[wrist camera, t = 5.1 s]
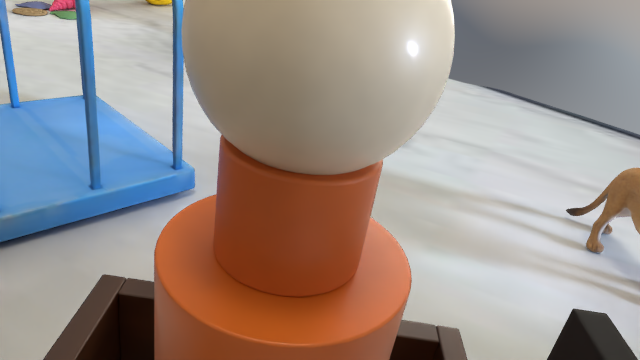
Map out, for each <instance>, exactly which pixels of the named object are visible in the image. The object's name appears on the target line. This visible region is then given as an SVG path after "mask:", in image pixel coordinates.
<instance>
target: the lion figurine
mask: <svg viewBox="0 0 640 360" xmlns="http://www.w3.org/2000/svg"><path fill="white" fill-rule="evenodd" d="M606 198H607V201H606V204H605V207H604V210H603V212H602V214H601V215H600V217H599V218H598V220H597V221H596V222H595V223H594V224H593V228H592V231H591V234H590V237H589V239H588V240H587V243H586V246H587V248H588V249H589V250H590V251H592V252H599V253H601V252H602V251H603V250H604V246H603V245H602V244H601V242H600V237H601V234H602V233H604V234H610V233H611V232H612V227H611V226H610V225H609V222H611V221H612V220H613V219H614V218H617V217H629V216H632V220H633V223H634V225H635V228H636V230H637V231H638V233H639V234H640V168H631V169H628V170H625V171H623V172H622V173H620V174H619V175H618V176H617V177H616V178H615V179H614V180H613V181H612V182H611V183H610V184H609V185H608V187H607V188H606V189H605V190H604V191H603V192H602V194H601V195H600V196H599V197H598V198H597V199H596V200H595V201H594V202H593V203H591V204H590V205H588V206H586V207H583V208H572V209H567V210H566V211H567V212H568V213H569V214H570V215H572V216H580V215H584V214H586V213H588V212H590V211H592V210H593V209H595V208H596V207H598V206H599V205H600V204H601V203H602V202H604V201H605V199H606Z"/></svg>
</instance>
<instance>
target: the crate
mask: <svg viewBox="0 0 640 360" xmlns="http://www.w3.org/2000/svg"><path fill="white" fill-rule="evenodd" d="M43 360H154V282H151V281H145V280H138V279H131V278H127V280H126V278H125V277H118V276H111V275H102V277H101V278H100V280H99V281H98V283H97V284H96V285H95V287H94V288H93V290H92V291H91V292H90V294H89V295H88V297H87V298H86V300H85V301H84V302H83V304H82V305H81V307H80V308H79V309H78V311H77V312H76V314H75V315H74V317H73V318H72V319H71V321H70V322H69V324H68V325H67V327H66V328H65V329H64V331H63V332H62V334H61V335H60V336H59V338H58V339H57V341H56V342H55V344H54V345H53V346H52V348H51V349H50V351H49V352H48V353H47V355H46V356H45V358H44V359H43ZM389 360H467V357H466V353H465V349H464V346H463V342H462V339H461V335H460V332H459V329H457V328H451V327H445V326H435V325H432V324H426V323H419V322H413V321H406V320H401V323H400V326H399V329H398V332H397V336H396V339H395V342H394V345H393V349H392V352H391V355H390V359H389Z"/></svg>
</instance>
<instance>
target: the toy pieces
mask: <svg viewBox="0 0 640 360" xmlns="http://www.w3.org/2000/svg"><path fill="white" fill-rule="evenodd" d="M15 5H17V6H21V7H28V8H15V9H13V10H12V11H13V12H14V13H16V14H22V15H28V16H42V15H46V14H47V13H48V12H47V11H46V10H43V9H49V11H53V12H50V14H55V15H56V16H58V17H60V18H65V19H77V17H76V12H75V11H55V10H61V9H63V10H64V9H70V8H72V7H73V8H76V6H75V0H54V2H53V3H52V5H50V4H47V3H44V2H37V1H34V2H26V3H22V4H15Z"/></svg>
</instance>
